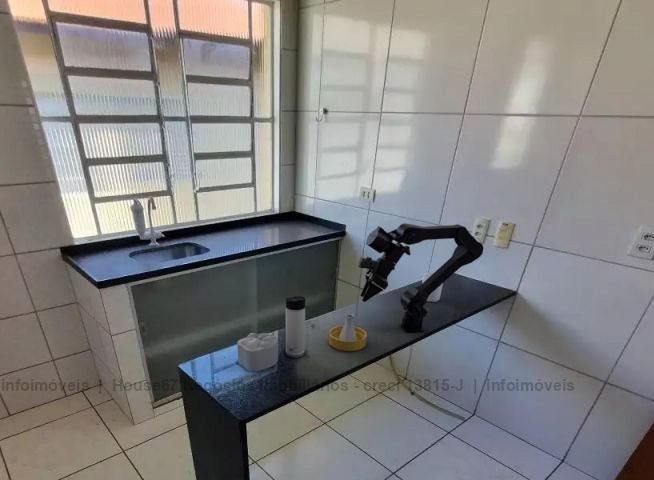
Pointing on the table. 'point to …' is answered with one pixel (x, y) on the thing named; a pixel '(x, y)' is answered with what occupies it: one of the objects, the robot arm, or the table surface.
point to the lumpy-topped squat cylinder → (258, 351)
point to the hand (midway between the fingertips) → (362, 298)
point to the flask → (348, 329)
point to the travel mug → (295, 326)
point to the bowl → (347, 345)
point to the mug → (436, 294)
